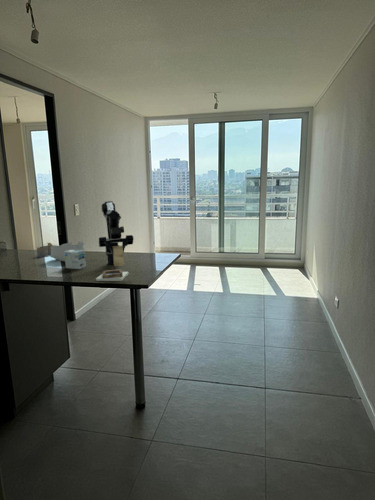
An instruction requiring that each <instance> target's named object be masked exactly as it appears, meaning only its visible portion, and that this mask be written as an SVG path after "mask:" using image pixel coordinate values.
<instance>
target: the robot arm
mask: <svg viewBox="0 0 375 500" xmlns="http://www.w3.org/2000/svg"><path fill="white" fill-rule="evenodd" d="M101 212H102V215H103V216H104V219H105V221H106V230H107V236H101V237H99V238H98V246H99V247H100V248H105V255H106V257H107V266H108V265H109V266H110V265H113V266H114V261H113V254H114V252H113V247H112V246H120V245H119V243H121V244H122V245H121V246H122V247H123V254H124V253H125V248H126V247H128V245H130V246H131V245H133V244H134V236H133V235H132V234H130V235H125V237H124V238H123V237H122V234H123V233H125V228H124V226H120V220H121V219H122V216H121V214H120V213H119V212H118V211H117V210H116V203H114V201H112V200H108V201H104V202H103V203H102V204H101Z"/></svg>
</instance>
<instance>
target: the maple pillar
mask: <svg viewBox="0 0 375 500" xmlns="http://www.w3.org/2000/svg"><path fill="white" fill-rule="evenodd" d="M112 247H113V252H114V254H113V261H114V265H113V266H114V267H119V266H125V260H124V253H123V247H122V245H119V246H112Z"/></svg>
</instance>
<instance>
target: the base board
mask: <svg viewBox="0 0 375 500" xmlns="http://www.w3.org/2000/svg"><path fill="white" fill-rule="evenodd" d="M122 274H123V277H114V278H103V273H102V274H100V275H99V276H97V277H96V278H95V281H96V282H100V281H101V282H103V281H105V282H122V281H123V280H124V279H126V278H127V276H128V275H129V274H130V272H129V271H122Z"/></svg>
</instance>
